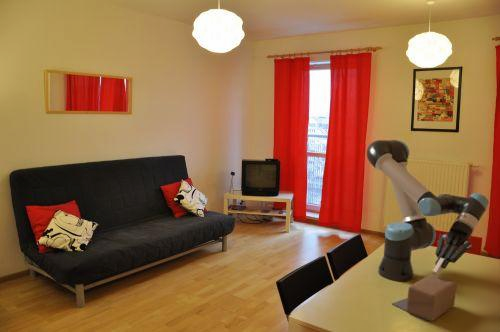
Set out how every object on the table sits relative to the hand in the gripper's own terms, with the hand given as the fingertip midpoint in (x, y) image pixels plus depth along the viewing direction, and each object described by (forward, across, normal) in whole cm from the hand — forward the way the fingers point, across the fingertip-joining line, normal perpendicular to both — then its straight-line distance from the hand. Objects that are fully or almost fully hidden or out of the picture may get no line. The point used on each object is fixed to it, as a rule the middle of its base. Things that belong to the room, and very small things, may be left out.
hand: (435, 273), depth 156 cm
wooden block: (+2, +1, +8) cm, 8 cm away
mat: (+13, 0, +4) cm, 14 cm away
